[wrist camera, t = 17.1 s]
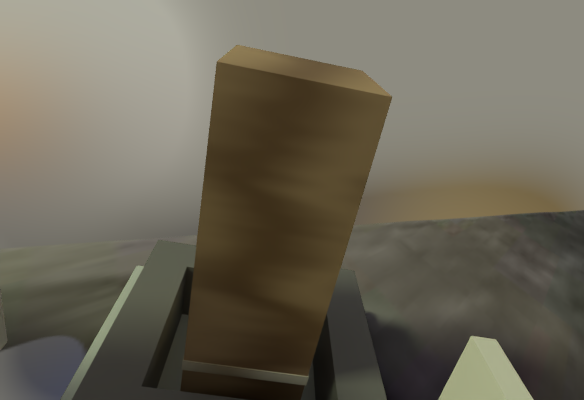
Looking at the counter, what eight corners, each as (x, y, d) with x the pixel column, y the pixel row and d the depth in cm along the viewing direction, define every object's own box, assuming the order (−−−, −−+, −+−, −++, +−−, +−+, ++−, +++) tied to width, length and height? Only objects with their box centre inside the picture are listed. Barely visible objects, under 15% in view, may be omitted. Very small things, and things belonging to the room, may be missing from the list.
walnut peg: (290, 345, 27) (363, 71, 19) (291, 433, 21) (393, 97, 14) (199, 333, 26) (236, 44, 19) (175, 419, 21) (215, 61, 13)
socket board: (356, 313, 34) (375, 259, 31) (422, 603, 17) (471, 535, 15) (136, 281, 32) (138, 221, 29) (-20, 568, 16) (-43, 486, 13)
